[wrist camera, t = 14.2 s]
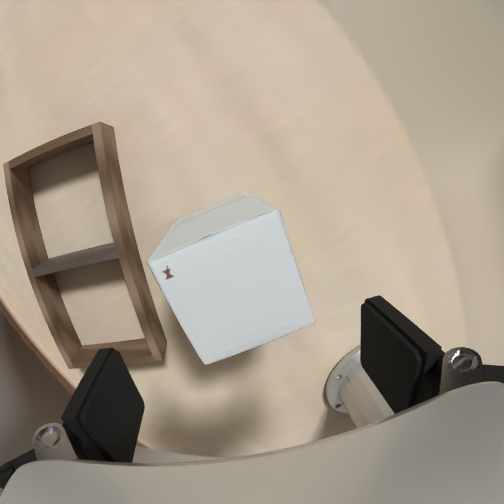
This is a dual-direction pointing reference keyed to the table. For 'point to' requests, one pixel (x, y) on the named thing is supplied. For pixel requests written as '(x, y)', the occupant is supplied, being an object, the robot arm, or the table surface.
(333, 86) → the table surface
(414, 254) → the table surface
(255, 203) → the supplement box
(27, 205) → the frame
